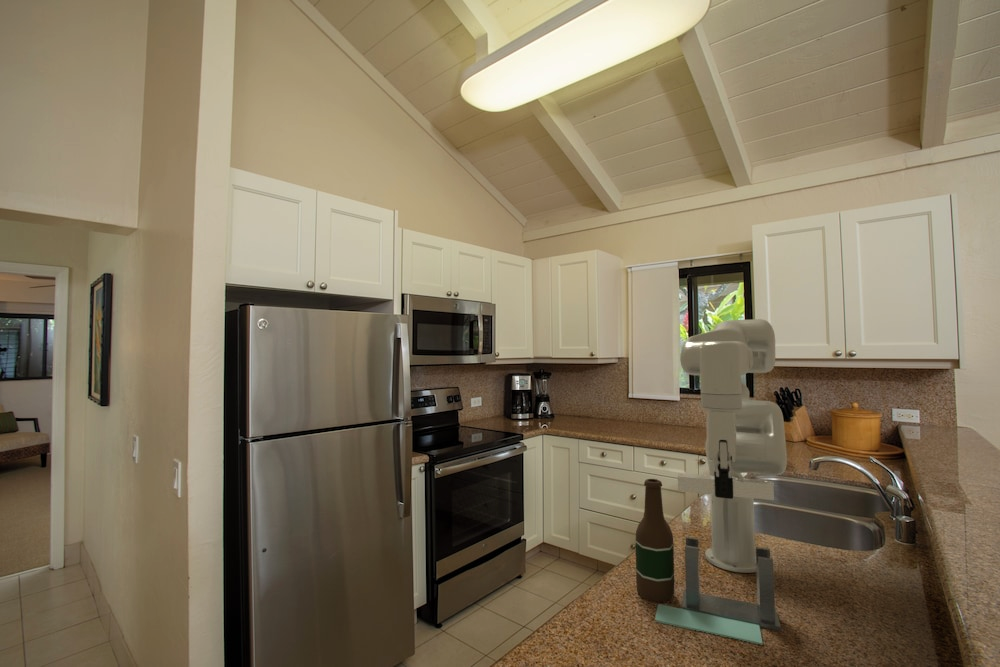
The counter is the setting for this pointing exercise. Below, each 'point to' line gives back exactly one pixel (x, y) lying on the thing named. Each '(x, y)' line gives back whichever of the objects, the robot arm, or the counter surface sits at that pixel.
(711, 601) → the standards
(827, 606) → the counter surface
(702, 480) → the rail
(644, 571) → the beer bottle
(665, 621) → the mat
